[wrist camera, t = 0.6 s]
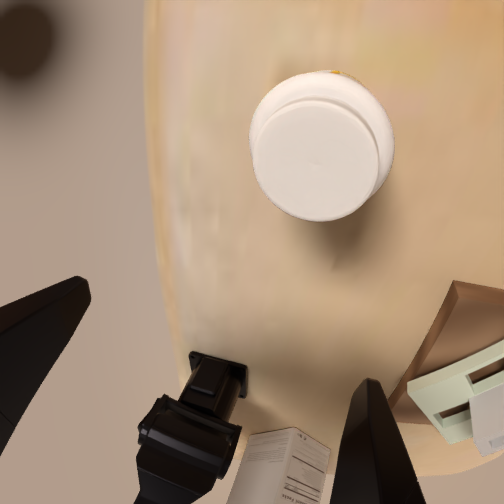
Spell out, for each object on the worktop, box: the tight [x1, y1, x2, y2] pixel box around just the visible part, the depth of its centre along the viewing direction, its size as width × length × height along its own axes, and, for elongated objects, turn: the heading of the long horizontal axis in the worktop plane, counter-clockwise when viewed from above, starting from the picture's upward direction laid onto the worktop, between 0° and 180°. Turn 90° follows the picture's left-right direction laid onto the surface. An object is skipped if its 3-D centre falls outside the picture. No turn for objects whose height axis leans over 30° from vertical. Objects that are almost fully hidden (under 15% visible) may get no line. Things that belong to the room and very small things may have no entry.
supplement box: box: [226, 427, 330, 504], centre depth 35 cm, size 9×9×15 cm
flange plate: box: [407, 340, 504, 457], centre depth 19 cm, size 14×14×6 cm
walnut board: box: [388, 280, 504, 425], centre depth 21 cm, size 18×18×7 cm
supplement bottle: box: [249, 70, 395, 222], centre depth 13 cm, size 6×6×10 cm
